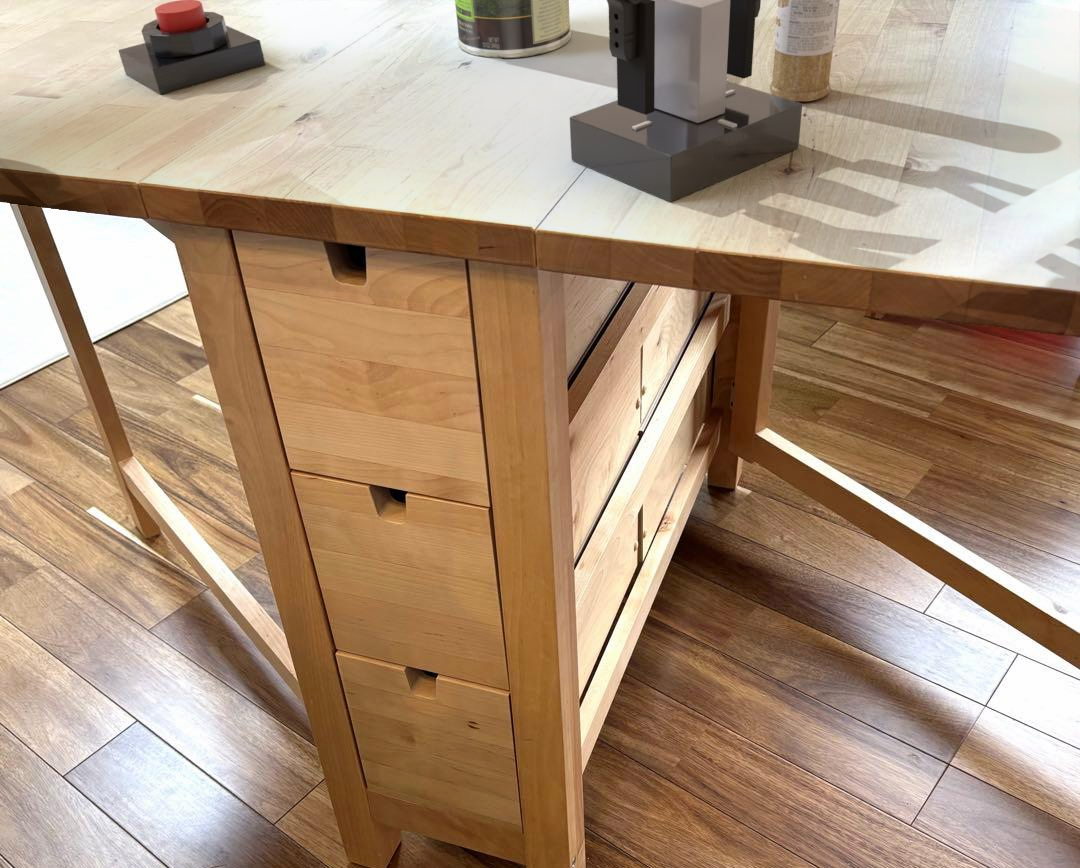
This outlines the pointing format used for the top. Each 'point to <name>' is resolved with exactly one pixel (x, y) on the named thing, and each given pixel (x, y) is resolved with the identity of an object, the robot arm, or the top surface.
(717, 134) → the dark grey flat block
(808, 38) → the sprinkles bottle
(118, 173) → the top surface
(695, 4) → the light grey upright block
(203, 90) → the top surface
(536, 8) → the coffee can
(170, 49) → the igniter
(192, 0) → the ignition button
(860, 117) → the top surface
